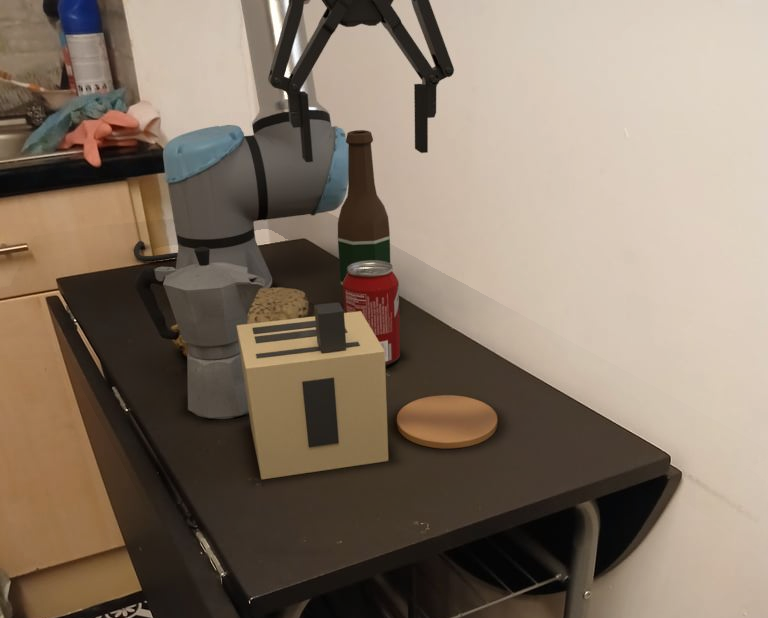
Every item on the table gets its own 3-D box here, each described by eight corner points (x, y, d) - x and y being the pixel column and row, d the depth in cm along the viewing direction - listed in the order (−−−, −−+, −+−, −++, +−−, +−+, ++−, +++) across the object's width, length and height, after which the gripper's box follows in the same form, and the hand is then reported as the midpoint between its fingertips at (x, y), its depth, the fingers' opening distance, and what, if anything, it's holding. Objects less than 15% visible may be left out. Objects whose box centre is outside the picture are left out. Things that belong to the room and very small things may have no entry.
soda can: (394, 372, 98) (392, 277, 91) (342, 370, 99) (335, 275, 93) (404, 351, 104) (402, 259, 97) (354, 348, 105) (349, 257, 98)
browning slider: (317, 343, 76) (313, 304, 73) (341, 340, 76) (339, 301, 74) (321, 352, 74) (318, 313, 72) (346, 349, 74) (344, 310, 72)
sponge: (206, 389, 99) (340, 323, 104) (179, 331, 95) (320, 266, 101) (179, 370, 110) (302, 311, 115) (154, 317, 106) (283, 259, 111)
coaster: (386, 408, 90) (386, 402, 90) (478, 395, 92) (478, 389, 92) (411, 455, 81) (410, 448, 81) (511, 440, 83) (512, 433, 83)
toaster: (251, 428, 87) (236, 324, 80) (366, 413, 90) (360, 309, 83) (261, 480, 78) (245, 367, 71) (389, 461, 81) (385, 350, 74)
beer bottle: (332, 316, 115) (319, 136, 101) (353, 298, 121) (344, 125, 107) (381, 322, 112) (375, 138, 99) (401, 303, 118) (397, 127, 105)
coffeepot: (293, 389, 95) (277, 237, 85) (263, 426, 88) (241, 264, 77) (178, 378, 99) (149, 231, 89) (139, 413, 91) (103, 256, 81)
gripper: (229, -88, 70) (258, 170, 83) (489, -95, 74) (480, 152, 87) (223, -83, 76) (252, 157, 89) (464, -89, 80) (460, 141, 93)
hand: (365, 155), depth 88 cm, fingers open, 12 cm apart
